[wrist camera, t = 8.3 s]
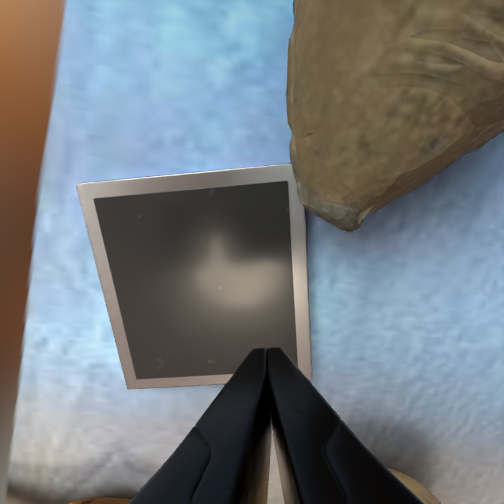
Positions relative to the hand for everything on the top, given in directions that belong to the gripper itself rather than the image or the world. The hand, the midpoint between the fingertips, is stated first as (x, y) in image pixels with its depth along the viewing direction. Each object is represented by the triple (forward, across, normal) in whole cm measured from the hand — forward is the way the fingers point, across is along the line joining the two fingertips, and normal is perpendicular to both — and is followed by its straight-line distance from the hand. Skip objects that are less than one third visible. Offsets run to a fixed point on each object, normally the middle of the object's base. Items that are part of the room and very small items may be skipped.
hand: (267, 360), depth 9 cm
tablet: (+6, +3, 0) cm, 7 cm away
